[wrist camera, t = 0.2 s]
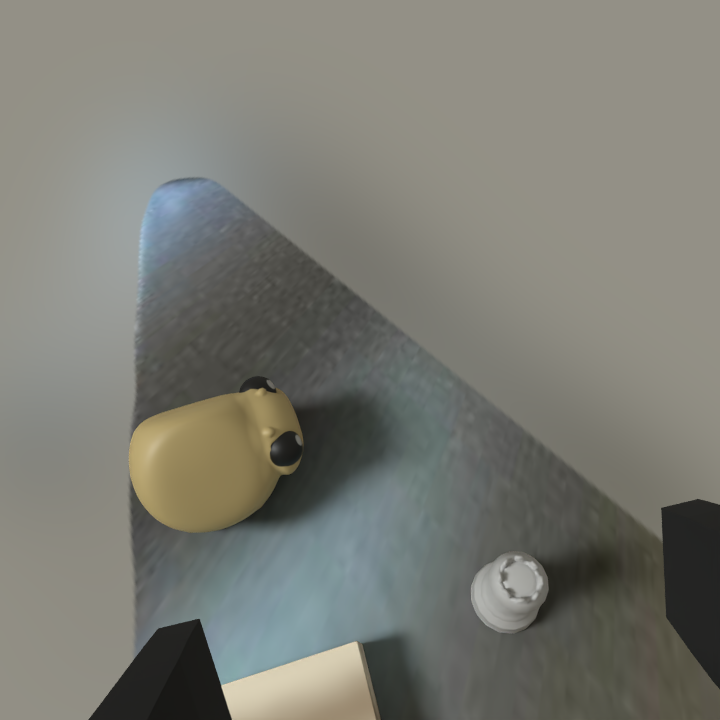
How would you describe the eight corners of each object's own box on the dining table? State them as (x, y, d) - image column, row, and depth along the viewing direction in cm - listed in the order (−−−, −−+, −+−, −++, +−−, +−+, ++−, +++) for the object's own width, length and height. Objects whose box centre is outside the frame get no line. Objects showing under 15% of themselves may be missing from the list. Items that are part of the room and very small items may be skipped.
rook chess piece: (510, 550, 37) (528, 521, 30) (552, 611, 35) (581, 595, 28) (457, 583, 37) (463, 562, 30) (496, 648, 34) (512, 641, 28)
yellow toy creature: (334, 500, 41) (306, 450, 31) (184, 568, 39) (110, 536, 30) (292, 397, 46) (258, 327, 36) (158, 453, 44) (88, 396, 35)
